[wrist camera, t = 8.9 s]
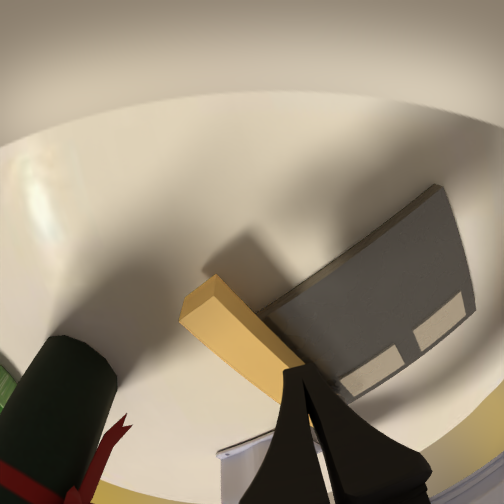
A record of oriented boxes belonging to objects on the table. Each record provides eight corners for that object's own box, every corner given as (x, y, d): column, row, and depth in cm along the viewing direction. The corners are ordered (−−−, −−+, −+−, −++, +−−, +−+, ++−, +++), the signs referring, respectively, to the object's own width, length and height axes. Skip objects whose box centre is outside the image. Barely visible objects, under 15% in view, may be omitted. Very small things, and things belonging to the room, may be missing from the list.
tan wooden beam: (350, 403, 21) (358, 424, 19) (322, 418, 22) (328, 439, 19) (218, 271, 16) (216, 293, 14) (182, 299, 16) (175, 323, 14)
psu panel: (322, 409, 24) (325, 420, 22) (233, 328, 19) (234, 341, 18) (470, 304, 21) (479, 313, 19) (434, 183, 16) (447, 188, 15)
